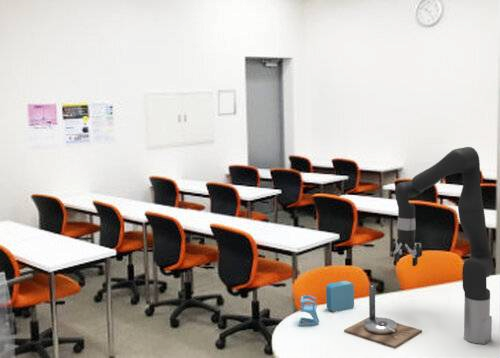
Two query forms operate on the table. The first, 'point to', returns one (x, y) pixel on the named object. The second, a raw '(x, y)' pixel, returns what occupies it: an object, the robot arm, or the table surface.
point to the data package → (340, 296)
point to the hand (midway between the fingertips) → (405, 263)
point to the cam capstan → (378, 323)
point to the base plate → (389, 340)
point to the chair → (309, 311)
